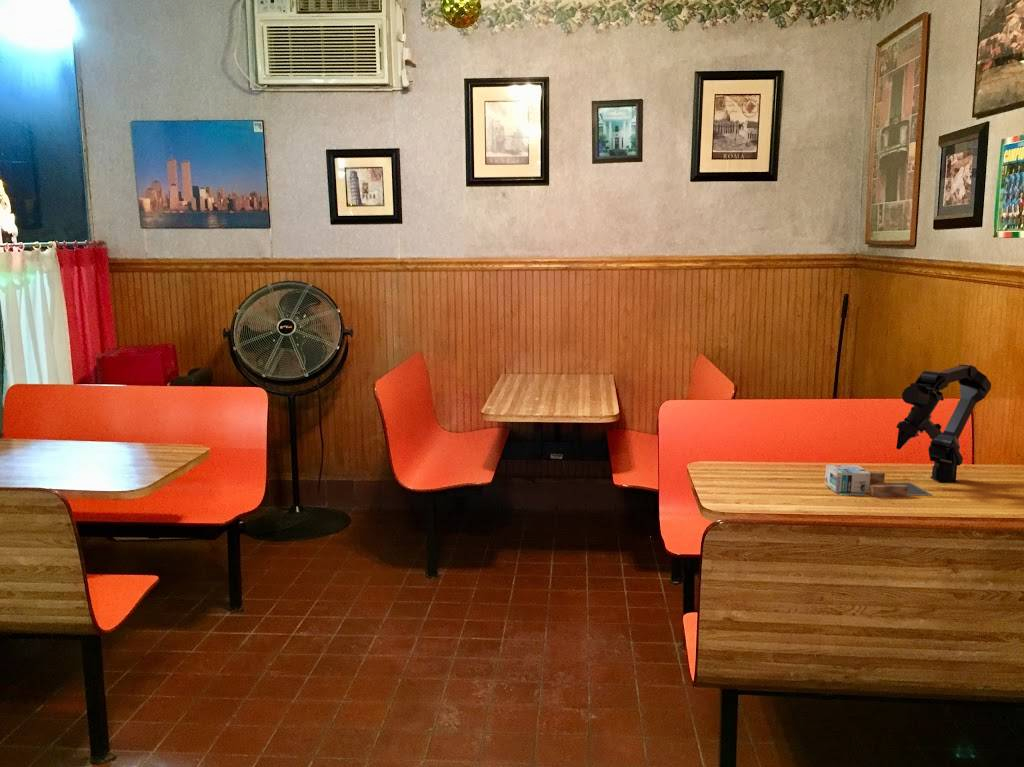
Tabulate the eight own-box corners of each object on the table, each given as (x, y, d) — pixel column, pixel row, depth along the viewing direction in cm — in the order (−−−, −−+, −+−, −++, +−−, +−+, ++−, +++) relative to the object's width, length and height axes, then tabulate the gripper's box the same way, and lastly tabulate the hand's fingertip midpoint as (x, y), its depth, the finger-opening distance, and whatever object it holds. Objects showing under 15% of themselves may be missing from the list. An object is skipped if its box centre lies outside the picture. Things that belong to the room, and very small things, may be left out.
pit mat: (910, 483, 282) (910, 482, 282) (932, 495, 268) (932, 494, 268) (886, 483, 282) (887, 482, 282) (907, 495, 268) (907, 494, 268)
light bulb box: (871, 473, 268) (837, 472, 269) (869, 493, 270) (835, 492, 270) (858, 464, 279) (825, 464, 279) (856, 484, 280) (824, 483, 280)
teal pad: (849, 484, 281) (849, 483, 281) (866, 495, 268) (866, 494, 268) (825, 484, 281) (825, 483, 281) (841, 495, 268) (841, 494, 268)
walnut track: (881, 481, 284) (882, 471, 283) (907, 497, 266) (908, 486, 266) (848, 482, 283) (849, 472, 283) (872, 497, 266) (873, 486, 265)
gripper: (943, 422, 264) (916, 465, 268) (951, 419, 279) (925, 459, 284) (909, 404, 269) (883, 446, 274) (918, 402, 284) (894, 441, 289)
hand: (897, 448), depth 280 cm, fingers closed
